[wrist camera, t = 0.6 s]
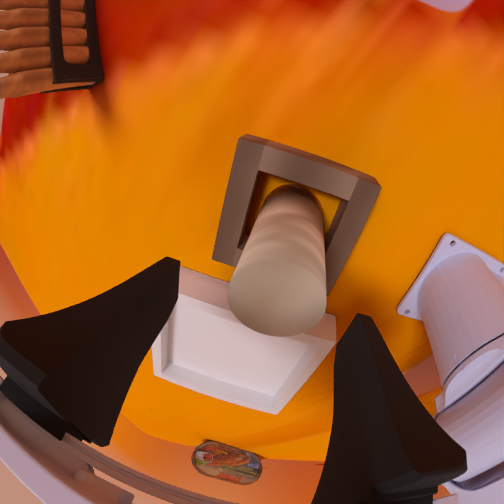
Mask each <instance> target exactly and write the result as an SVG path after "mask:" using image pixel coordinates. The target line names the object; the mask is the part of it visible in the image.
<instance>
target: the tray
mask: <svg viewBox="0 0 504 504" xmlns="http://www.w3.org/2000/svg"><path fill="white" fill-rule="evenodd" d="M228 286H229V282H226V281H223V280H220V279H217V278H214V277H211V276H208V275H205V274H202V273H199V272H196V271H193V270H191V269H188V268H185V267H182V266H180V275H179V293H178V300H177V302H176V304H175V307H174V309H173V311H172V313H171V315H170V317H169V319H168V321H167V322H166V324H165V325H164V327H163V329H162V330H161V332H160V333H159V335H158V337H157V338H156V340H155V341H154V343H153V344H152V357H153V370H154V375H155V376H158V377H160V378H163V379H165V380H168V381H170V382H173V383H175V384H178V385H180V386H183V387H186V388H188V389H191V390H194V391H197V392H199V393H202V394H205V395H208V396H211V397H214V398H217V399H221V400H224V401H227V402H230V403H234V404H237V405H241V406H244V407H248V408H251V409H255V410H259V411H263V412H267V413H271V414H276V415H277V414H278V413H279V412H280V411H281V409H282V408H283V407H284V406H285V405H286V404H287V403H288V402H289V401H290V399H291V398H292V397H293V396H294V395H295V394H296V392H297V391H298V390H299V389H300V388H301V387H302V385H303V384H304V383H305V382H306V381H307V379H308V378H309V377H310V376H311V375H312V373H313V372H314V371H315V370H316V368H317V367H318V366H319V365H320V363H321V362H322V361H323V360H324V358H325V357H326V356H327V354H328V353H329V352H330V350H331V349H332V348H333V346H334V345H335V344H336V342H337V341H336V316H335V315H332V314H328V313H324V315H323V317H322V319H321V320H320V321H319V322H318V323H317V324H316V325H315V326H314V327H313V328H311V329H310V330H308V331H306V332H304V333H301V334H298V335H294V336H287V337H276V336H269V335H265V334H261V333H258V332H256V331H254V330H252V329H250V328H248V327H246V326H245V325H244V324H242V323H241V322H240V321H239V320H238V319H237V318H236V317H235V316H234V314H233V313H232V311H231V309H230V307H229V304H228V300H227V290H228Z"/></svg>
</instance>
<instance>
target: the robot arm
mask: <svg viewBox="0 0 504 504" xmlns="http://www.w3.org/2000/svg"><path fill="white" fill-rule="evenodd" d="M453 240H454V241H453ZM451 241H453V243H452V244H450V242H451ZM179 275H180V261H179V260H176V259H173V258H170V257H165V258H163V259H161V260H160V261H158V262H156V263H155V264H153V265H151V266H150V267H148V268H146V269H145V270H143V271H141V272H140V273H138V274H136V275H135V276H133V277H131V278H130V279H128V280H126V281H125V282H123V283H121V284H119V285H117V286H115V287H113V288H112V289H110V290H108V291H106V292H104V293H102V294H100V295H98V296H95V297H93V298H91V299H89V300H86V301H84V302H81V303H79V304H76V305H73V306H70V307H67V308H65V309H62V310H59V311H55V312H52V313H48V314H45V315H40V316H36V317H31V318H26V319H20V320H13V321H7V322H5V323H4V324H3V325H2V326H1V328H0V367H1V368H2V369H3V371H4V372H5V373H6V374H7V377H6V378H5V380H4V379H3V378H2V377H1V376H0V459H1V460H2V461H3V463H4V464H5V465H6V466H7V467H8V468H9V469H10V470H11V471H12V473H13V474H14V475H15V476H16V477H17V478H18V479H19V480H20V481H21V482H22V483H23V484H24V485H25V486H26V487H27V488H28V489H29V490H30V491H31V492H32V493H34V494H35V495H36V496H37V497H38V498H39V499H40V500H41V501H42V502H43V503H45V504H132V501H133V499H134V494H132V493H130V492H128V491H126V490H124V489H121V488H120V487H118V486H116V485H114V484H112V483H110V482H108V481H106V480H104V479H102V478H100V477H98V476H96V475H95V473H94V470H93V468H92V467H94V468H96V469H98V470H100V471H101V472H103V473H105V474H107V475H109V476H111V477H112V478H114V479H116V480H118V481H121V482H123V483H125V484H127V485H129V486H131V487H133V488H136V489H138V490H140V491H142V492H145V493H147V494H150V495H152V496H155V497H157V498H160V499H163V500H165V501H168V502H171V503H174V504H237V503H233V502H228V501H224V500H220V499H216V498H212V497H208V496H204V495H201V494H198V493H194V492H191V491H188V490H185V489H182V488H179V487H176V486H173V485H170V484H168V483H165V482H162V481H160V480H157V479H154V478H152V477H149V476H147V475H145V474H143V473H140V472H138V471H136V470H134V469H131V468H129V467H127V466H125V465H123V464H121V463H119V462H117V461H115V460H113V459H111V458H109V457H107V456H105V455H104V454H102V453H100V452H98V451H96V450H95V449H93V448H91V447H89V446H88V445H86V444H84V443H83V442H82V440H85V441H87V442H88V443H91V442H93V443H95V444H96V445H98V446H100V447H104V446H108V445H109V444H110V440H111V436H112V434H113V430H114V427H115V424H116V421H117V418H118V415H119V413H120V410H121V408H122V405H123V402H124V400H125V397H126V395H127V393H128V390H129V388H130V386H131V383H132V381H133V379H134V377H135V375H136V372H137V370H138V368H139V366H140V364H141V363H142V361H143V359H144V357H145V356H146V354H147V352H148V351H149V349H150V348H151V346H152V344H153V343H154V341H155V340H156V338H157V337H158V335H159V333H160V332H161V330H162V329H163V327H164V325H165V324H166V322H167V321H168V319H169V317H170V315H171V313H172V311H173V309H174V307H175V304H176V302H177V300H178V293H179ZM406 310H408V311H406ZM397 312H398V314H400V315H404V316H407V317H410V318H414V319H417V320H421V321H423V323H424V326H425V329H426V332H427V336H428V339H429V342H430V345H431V349H432V352H433V356H434V359H435V363H436V367H437V371H438V375H439V378H440V383H441V387H442V392H441V393H440V394H439V395H438V396H437V397H436V398H435V403H436V409H437V412H436V413H435V414H434V415H433V416H431V415H430V413H429V412H428V411H427V410H426V409H425V407H424V406H423V405H422V403H421V402H420V401H419V399H418V398H417V396H416V395H415V393H414V392H413V390H412V389H411V387H410V386H409V384H408V383H407V381H406V380H405V378H404V376H403V374H402V373H401V371H400V369H399V367H398V366H397V364H396V362H395V360H394V358H393V357H392V355H391V353H390V351H389V349H388V347H387V345H386V344H385V342H384V340H383V338H382V336H381V334H380V332H379V330H378V328H377V327H376V325H375V323H374V321H373V320H372V318H371V316H367V315H363V314H359V313H357V315H356V316H355V318H354V319H353V321H352V323H351V324H350V326H349V327H348V329H347V330H346V332H345V333H344V335H343V336H342V338H341V339H340V341H339V342H338V344H337V346H336V354H335V362H334V409H333V423H332V430H331V436H330V442H329V446H328V451H327V455H326V460H325V464H324V467H323V471H322V475H321V478H320V481H319V484H318V487H317V490H316V493H315V495H314V498H313V500H312V503H311V504H504V264H503V263H502V262H500V261H499V260H497V259H495V258H493V257H492V256H490V255H488V254H487V253H485V252H483V251H481V250H480V249H478V248H476V247H474V246H473V245H471V244H469V243H467V242H465V241H463V240H462V239H460V238H458V237H456V236H454V235H452V234H450V233H445V234H444V235H443V236H442V238H441V240H440V241H439V243H438V245H437V246H436V248H435V250H434V252H433V253H432V255H431V257H430V258H429V260H428V262H427V263H426V265H425V266H424V268H423V270H422V271H421V273H420V274H419V276H418V277H417V279H416V280H415V282H414V283H413V285H412V286H411V288H410V289H409V291H408V292H407V294H406V295H405V297H404V298H403V299H402V301H401V302H400V304H399V305H398V306H397ZM90 465H91V466H90ZM441 484H442V485H443V486H444V487H446V489H447V490H448V491H449V492H450V494H451V495H449V496H445V497H441V498H438V499H434V500H433V494H436V493H437V492H438V485H441Z"/></svg>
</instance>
